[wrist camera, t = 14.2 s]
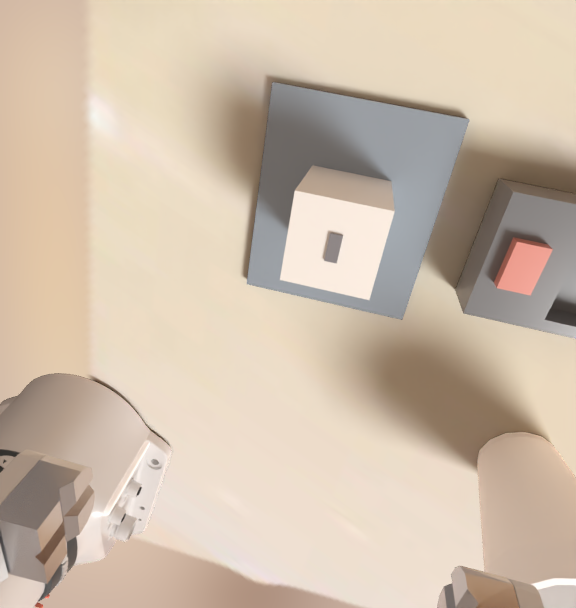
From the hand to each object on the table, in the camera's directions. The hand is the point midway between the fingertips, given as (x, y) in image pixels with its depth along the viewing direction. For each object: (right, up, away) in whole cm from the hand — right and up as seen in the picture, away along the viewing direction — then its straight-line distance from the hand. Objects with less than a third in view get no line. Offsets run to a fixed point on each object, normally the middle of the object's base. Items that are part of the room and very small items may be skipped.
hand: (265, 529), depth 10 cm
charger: (+4, +11, +20) cm, 24 cm away
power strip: (+19, +8, +20) cm, 28 cm away
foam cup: (+20, -8, +28) cm, 35 cm away
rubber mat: (+4, +11, +21) cm, 24 cm away
